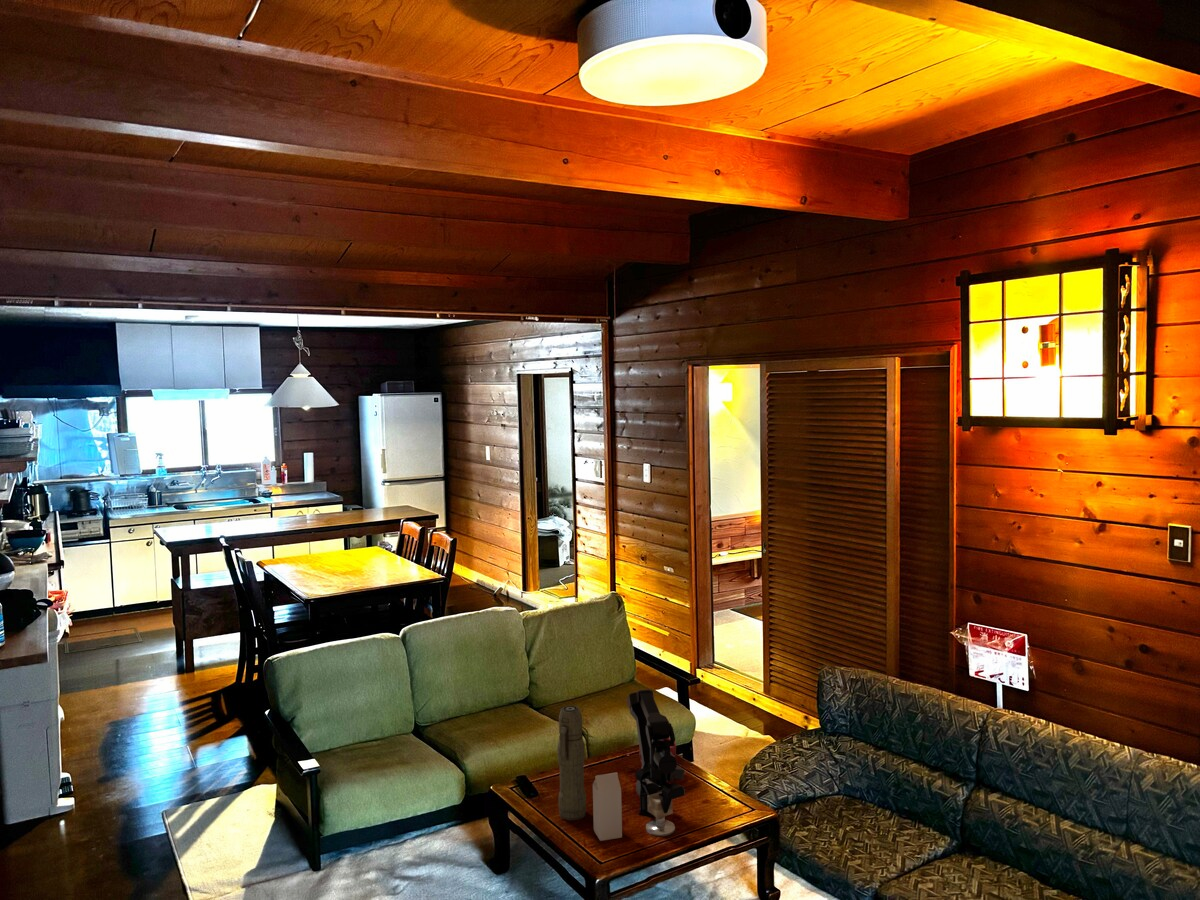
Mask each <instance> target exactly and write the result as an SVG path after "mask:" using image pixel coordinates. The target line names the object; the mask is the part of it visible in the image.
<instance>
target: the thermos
mask: <svg viewBox="0 0 1200 900" xmlns="http://www.w3.org/2000/svg"><path fill="white" fill-rule="evenodd" d="M558 715H559V716H558V733H559V736H558V742H557V763H558V765H559V766H558V767H559V769H558V770H559V793H558V796H557V797H558V809H559V812H558V815H560V816H559V817H560V818H561V819H563V820H565V819H566V821H578V820H581V819H583V818H585V816H586V814H587V813H586V807H587V793H586V790H585V781H584V780H585V777H584V776H585V775H584V774H585V771H584V770H585V769H584V766H585V765H584V764H585V762H586V757H585V756H586V753H585V752H586V750H585V741H584V739H583V737H584V736H583V734H582V733H583V715H582V713H581V709H580V708H579V706H578V707H577V706H576V705H566V706H563V707H562V708H560V712H559V714H558Z"/></svg>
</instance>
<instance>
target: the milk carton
mask: <svg viewBox="0 0 1200 900" xmlns="http://www.w3.org/2000/svg"><path fill="white" fill-rule="evenodd" d="M592 802H593V803H592V806H593V807H592V813H593V816H592V817H593V819H592V820H593V831H594V834H595V835H596V836H597V838H598V840H599V841H600V842H602V841H609V840H614V839H621V838H623V819H622V818H623V812H622V810H623V809H622V787H621V783H620V780H619V774H618V772H611V773H605V774H597V775H595V779H594V781H593V783H592Z"/></svg>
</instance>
